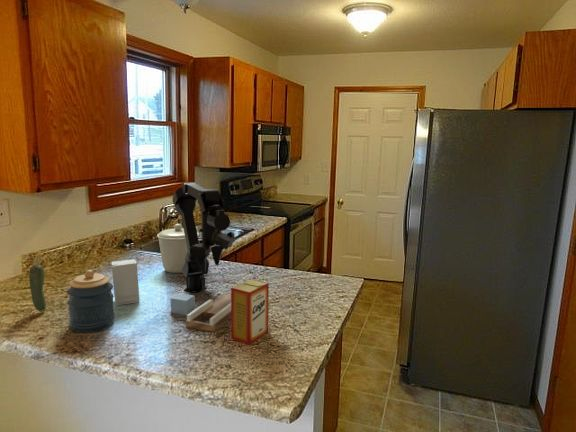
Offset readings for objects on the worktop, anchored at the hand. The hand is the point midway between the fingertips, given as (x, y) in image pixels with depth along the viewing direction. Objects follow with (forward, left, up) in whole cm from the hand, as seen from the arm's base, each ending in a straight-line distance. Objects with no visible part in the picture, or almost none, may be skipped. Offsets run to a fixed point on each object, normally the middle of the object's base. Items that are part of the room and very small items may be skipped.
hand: (210, 268), depth 148 cm
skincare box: (-28, -11, -13) cm, 33 cm away
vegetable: (-48, -29, -13) cm, 58 cm away
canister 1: (-25, -30, -13) cm, 41 cm away
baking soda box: (+24, -19, -13) cm, 33 cm away
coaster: (-4, -12, -12) cm, 18 cm away
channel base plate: (+8, -8, -12) cm, 17 cm away
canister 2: (-32, +28, -13) cm, 44 cm away
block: (-4, -12, -12) cm, 17 cm away
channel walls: (+8, -14, -11) cm, 19 cm away
